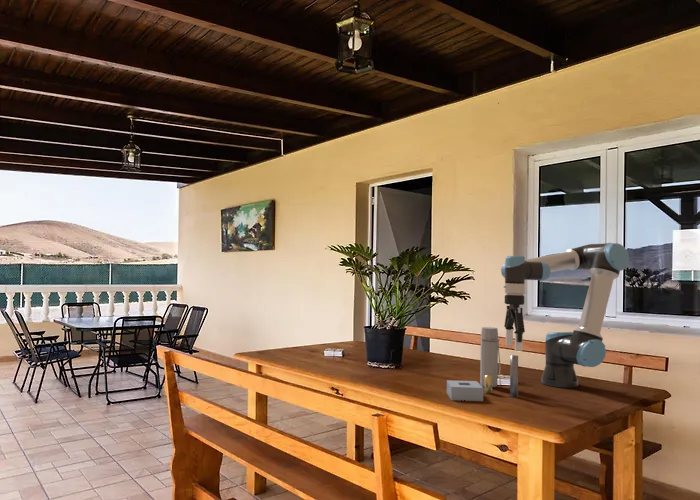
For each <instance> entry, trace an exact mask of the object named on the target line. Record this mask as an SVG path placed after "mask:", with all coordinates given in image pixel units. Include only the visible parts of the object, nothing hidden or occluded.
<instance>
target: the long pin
mask: <svg viewBox="0 0 700 500" xmlns="http://www.w3.org/2000/svg"><path fill="white" fill-rule="evenodd" d="M509 364H510V365H509V366H510V367H509V375H510V377H509V397H511V398H519V355H515V354H513V355H512V354H511V355H510V356H509Z"/></svg>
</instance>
